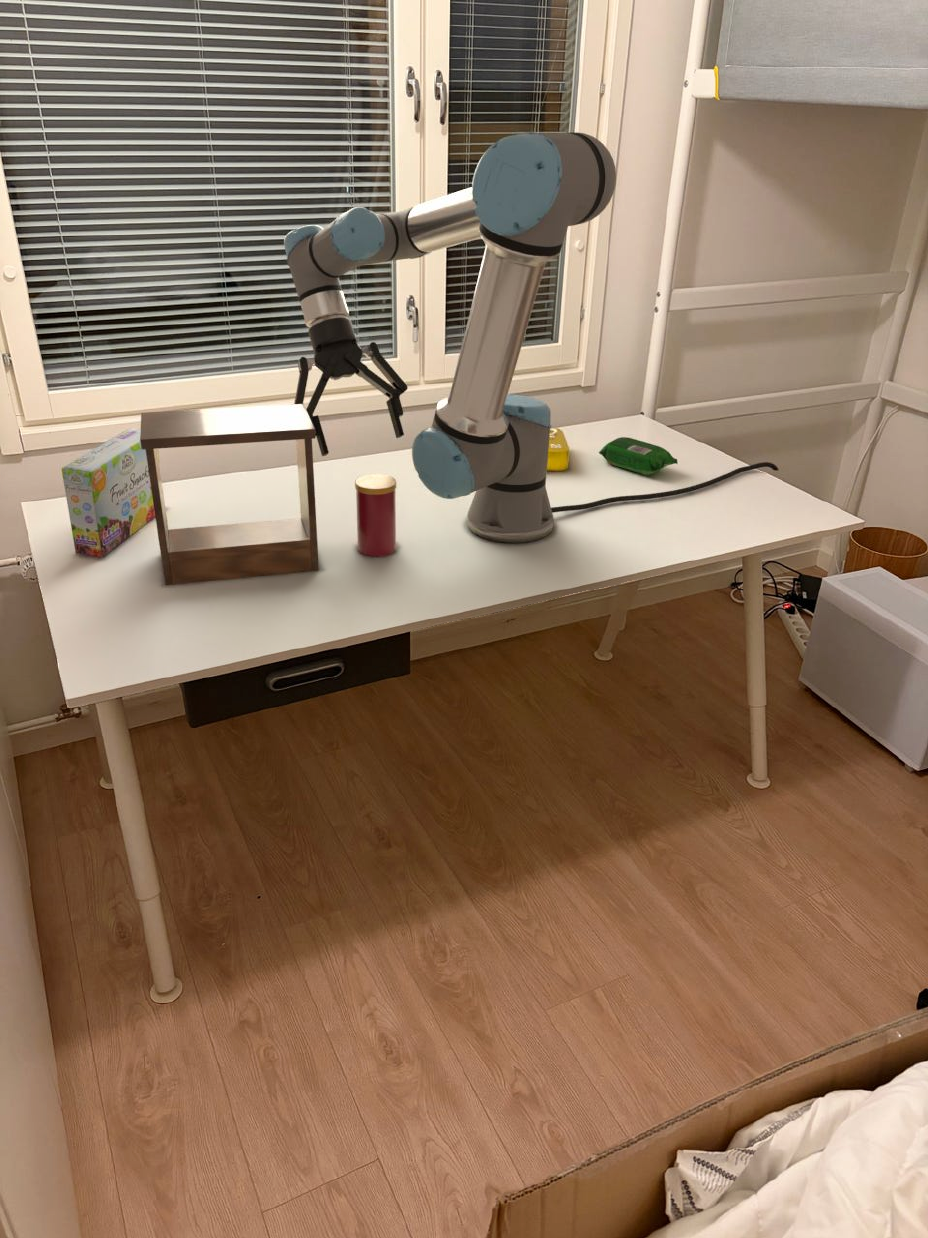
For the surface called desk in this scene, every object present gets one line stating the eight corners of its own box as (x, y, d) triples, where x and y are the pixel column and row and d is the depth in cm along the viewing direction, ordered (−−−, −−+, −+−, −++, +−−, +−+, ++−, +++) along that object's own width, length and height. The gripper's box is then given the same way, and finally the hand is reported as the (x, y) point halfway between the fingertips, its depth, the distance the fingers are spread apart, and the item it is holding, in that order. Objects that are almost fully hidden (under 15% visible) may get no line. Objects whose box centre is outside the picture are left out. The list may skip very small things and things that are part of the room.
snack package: (658, 483, 188) (661, 458, 185) (595, 462, 197) (598, 438, 194) (677, 474, 192) (681, 450, 190) (615, 454, 202) (618, 431, 199)
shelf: (311, 538, 161) (303, 403, 149) (322, 570, 150) (315, 428, 139) (161, 551, 154) (141, 412, 143) (162, 586, 144) (140, 439, 132)
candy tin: (392, 538, 162) (391, 472, 156) (400, 554, 156) (400, 487, 150) (353, 541, 160) (351, 475, 154) (360, 558, 154) (359, 490, 148)
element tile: (492, 445, 204) (492, 424, 202) (560, 446, 205) (562, 425, 202) (496, 470, 191) (497, 447, 189) (569, 471, 192) (571, 449, 189)
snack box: (106, 559, 151) (90, 471, 144) (74, 555, 152) (57, 467, 145) (167, 509, 170) (156, 428, 162) (139, 505, 170) (126, 425, 163)
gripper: (392, 315, 166) (424, 432, 168) (254, 343, 159) (290, 465, 161) (402, 302, 159) (436, 425, 161) (258, 331, 152) (296, 459, 154)
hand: (363, 445), depth 161 cm, fingers open, 13 cm apart
